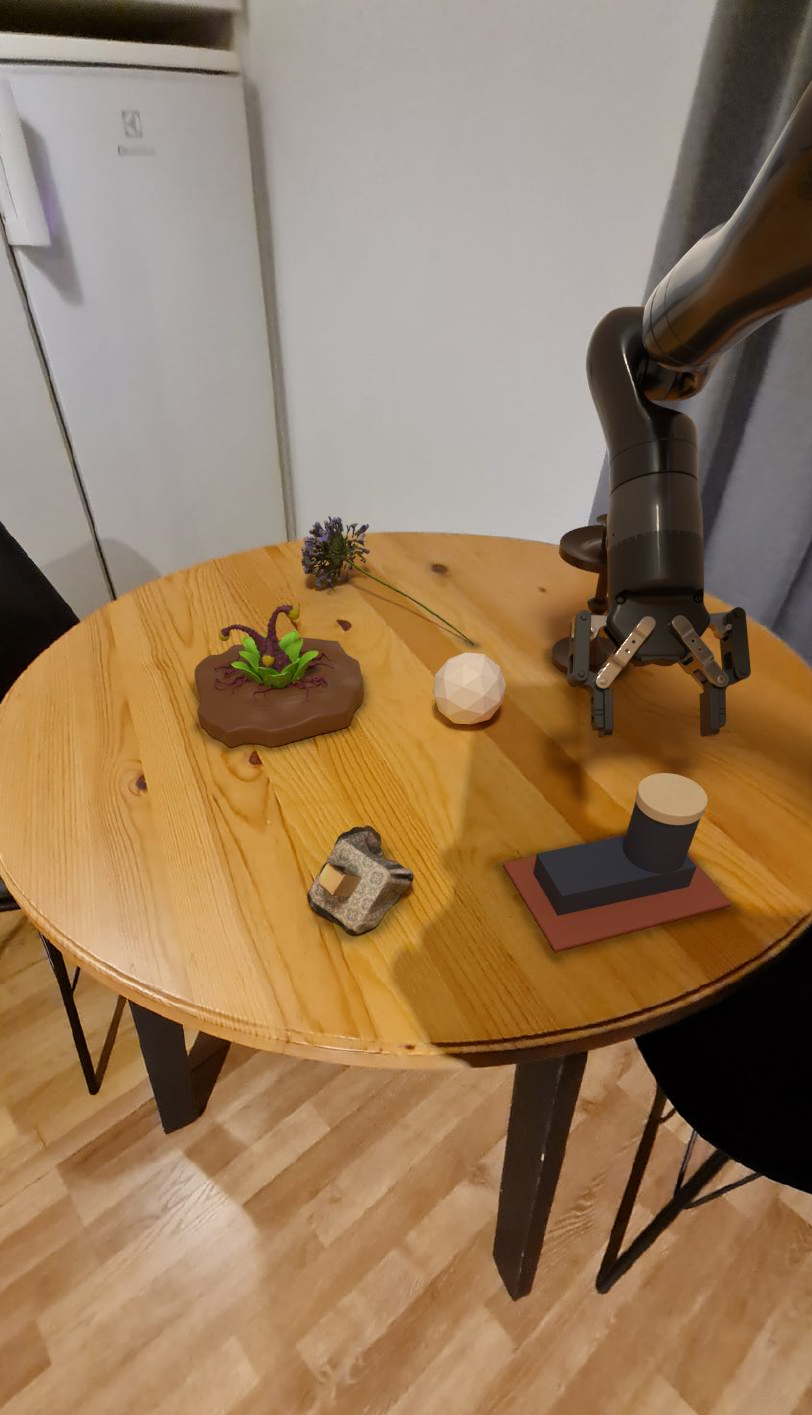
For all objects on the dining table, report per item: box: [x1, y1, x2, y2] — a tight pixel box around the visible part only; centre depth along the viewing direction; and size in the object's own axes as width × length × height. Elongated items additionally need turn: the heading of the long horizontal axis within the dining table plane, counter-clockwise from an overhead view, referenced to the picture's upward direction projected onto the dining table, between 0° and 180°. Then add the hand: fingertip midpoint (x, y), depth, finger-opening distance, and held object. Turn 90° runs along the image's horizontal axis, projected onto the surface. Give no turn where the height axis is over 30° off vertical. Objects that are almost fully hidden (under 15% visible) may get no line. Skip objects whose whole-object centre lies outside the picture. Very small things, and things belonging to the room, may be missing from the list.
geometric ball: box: [432, 651, 507, 725], centre depth 81 cm, size 8×8×8 cm
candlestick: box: [550, 508, 628, 676], centre depth 80 cm, size 11×11×35 cm
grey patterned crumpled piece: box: [306, 824, 415, 935], centre depth 64 cm, size 8×7×12 cm
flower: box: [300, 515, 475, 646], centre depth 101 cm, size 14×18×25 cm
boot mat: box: [502, 833, 733, 953], centre depth 64 cm, size 16×10×1 cm, turn 106°
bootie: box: [533, 772, 709, 916], centre depth 61 cm, size 12×5×9 cm, turn 103°
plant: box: [194, 604, 364, 748], centre depth 85 cm, size 20×20×11 cm
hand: (657, 736), depth 62 cm, fingers open, 8 cm apart
